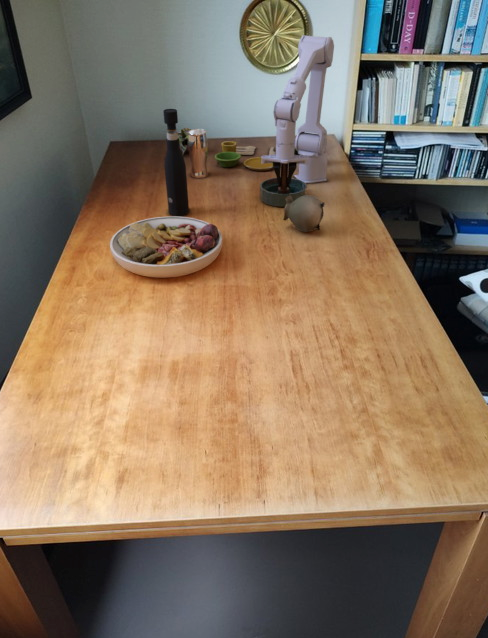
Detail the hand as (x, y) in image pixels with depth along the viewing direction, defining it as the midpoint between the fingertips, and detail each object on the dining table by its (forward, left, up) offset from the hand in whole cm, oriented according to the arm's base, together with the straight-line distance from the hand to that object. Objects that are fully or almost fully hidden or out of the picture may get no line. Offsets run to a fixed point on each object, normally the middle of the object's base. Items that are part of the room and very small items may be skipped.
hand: (283, 186), depth 177 cm
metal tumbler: (+20, -33, -6) cm, 39 cm away
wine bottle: (+34, -3, -6) cm, 35 cm away
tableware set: (-10, -40, -6) cm, 42 cm away
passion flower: (+20, -58, -6) cm, 61 cm away
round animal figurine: (+1, +21, -6) cm, 22 cm away
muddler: (0, 0, -3) cm, 3 cm away
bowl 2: (-1, -3, -5) cm, 6 cm away
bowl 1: (+43, +25, -6) cm, 50 cm away
